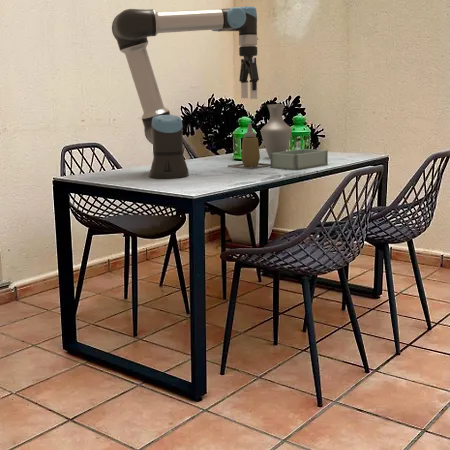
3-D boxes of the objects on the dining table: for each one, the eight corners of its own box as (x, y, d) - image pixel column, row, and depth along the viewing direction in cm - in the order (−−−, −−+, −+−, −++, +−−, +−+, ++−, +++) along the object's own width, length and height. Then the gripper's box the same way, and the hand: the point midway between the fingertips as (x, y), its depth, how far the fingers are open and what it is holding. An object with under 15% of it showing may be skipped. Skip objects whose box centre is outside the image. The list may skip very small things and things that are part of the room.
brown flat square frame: (251, 169, 264) (251, 167, 264) (227, 166, 274) (227, 165, 274) (273, 165, 273) (273, 164, 273) (250, 163, 283) (250, 162, 283)
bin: (295, 170, 258) (295, 155, 256) (270, 167, 267) (270, 153, 266) (327, 164, 272) (327, 150, 271) (302, 162, 282) (302, 148, 280)
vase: (284, 156, 308) (284, 103, 303) (297, 159, 295) (296, 104, 290) (256, 157, 304) (255, 104, 299) (268, 161, 291) (267, 105, 285)
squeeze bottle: (260, 165, 277) (259, 123, 273) (259, 167, 269) (259, 124, 265) (242, 165, 278) (241, 123, 274) (240, 167, 270) (239, 124, 266)
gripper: (266, 44, 252) (266, 98, 257) (248, 47, 276) (249, 97, 280) (248, 44, 250) (249, 99, 255) (231, 48, 274) (232, 98, 279)
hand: (249, 98), depth 268 cm, fingers open, 13 cm apart
